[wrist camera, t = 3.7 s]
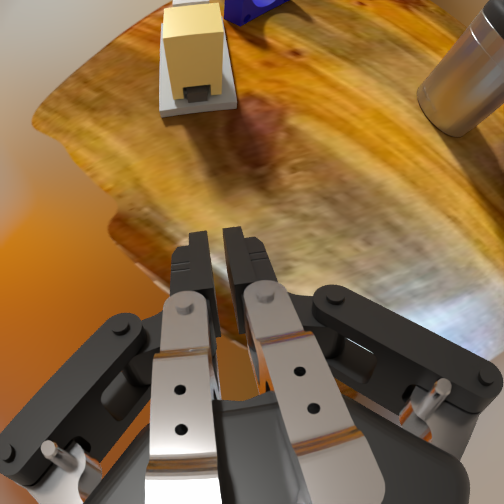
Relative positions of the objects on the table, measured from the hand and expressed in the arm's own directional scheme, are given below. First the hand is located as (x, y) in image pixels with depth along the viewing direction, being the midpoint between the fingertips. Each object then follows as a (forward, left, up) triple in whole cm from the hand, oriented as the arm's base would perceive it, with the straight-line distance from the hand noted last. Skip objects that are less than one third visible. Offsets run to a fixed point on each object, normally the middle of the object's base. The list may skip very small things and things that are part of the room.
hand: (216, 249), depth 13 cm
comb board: (0, -26, -15) cm, 30 cm away
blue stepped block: (-9, -39, -15) cm, 43 cm away
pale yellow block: (0, -21, -13) cm, 25 cm away
